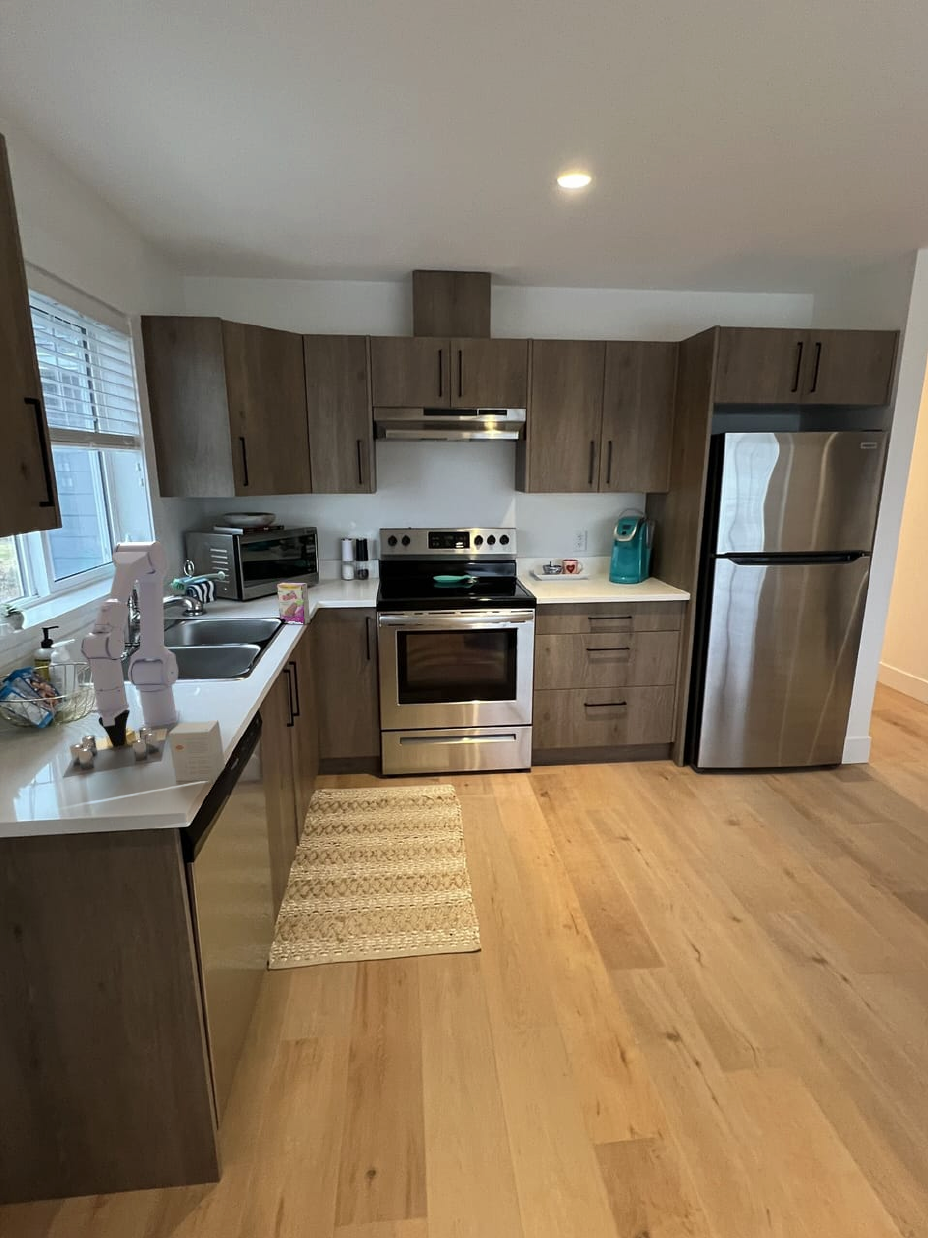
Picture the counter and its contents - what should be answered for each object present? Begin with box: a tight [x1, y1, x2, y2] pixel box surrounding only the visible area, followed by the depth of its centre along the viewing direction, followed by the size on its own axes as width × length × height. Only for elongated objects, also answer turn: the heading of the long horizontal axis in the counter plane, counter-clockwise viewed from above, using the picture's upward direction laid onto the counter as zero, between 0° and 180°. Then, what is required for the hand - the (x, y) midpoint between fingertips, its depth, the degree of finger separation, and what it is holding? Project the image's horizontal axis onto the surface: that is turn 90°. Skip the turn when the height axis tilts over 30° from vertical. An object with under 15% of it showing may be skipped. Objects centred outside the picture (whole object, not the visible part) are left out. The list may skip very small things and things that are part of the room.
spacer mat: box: [62, 728, 168, 779], centre depth 138 cm, size 19×18×1 cm
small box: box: [168, 720, 226, 782], centre depth 125 cm, size 8×6×10 cm
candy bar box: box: [276, 582, 311, 626], centre depth 254 cm, size 11×5×16 cm, turn 77°
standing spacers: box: [69, 727, 159, 770], centre depth 135 cm, size 9×16×4 cm, turn 111°
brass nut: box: [105, 727, 136, 749], centre depth 142 cm, size 5×6×3 cm
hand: (119, 745), depth 138 cm, fingers closed
